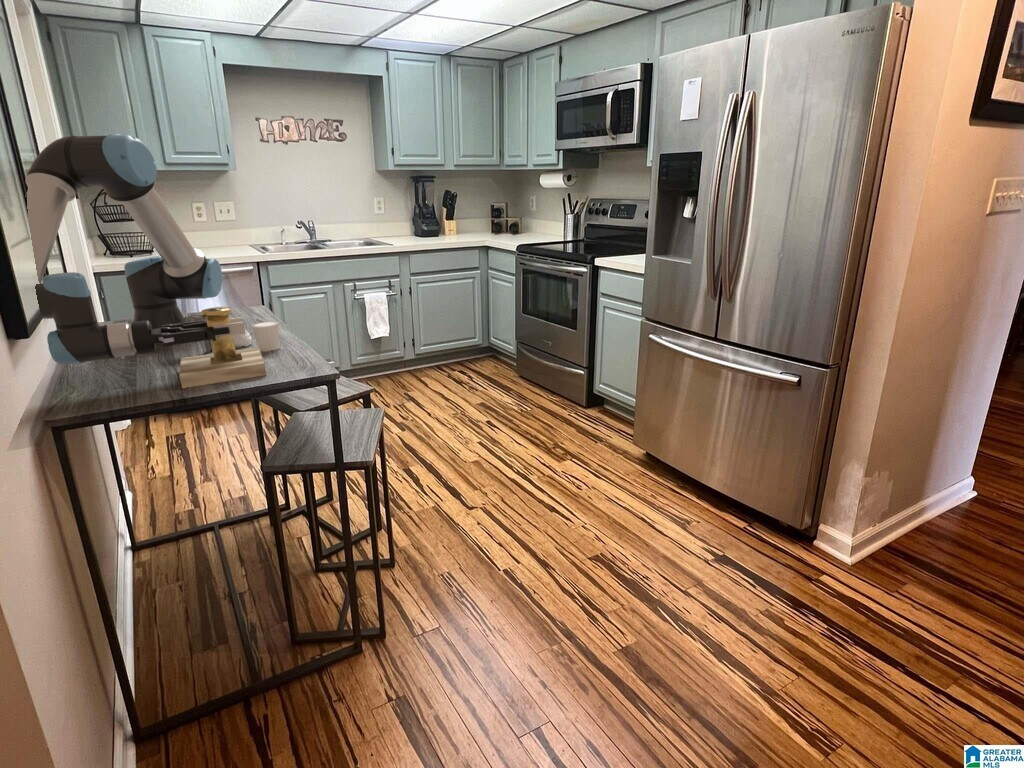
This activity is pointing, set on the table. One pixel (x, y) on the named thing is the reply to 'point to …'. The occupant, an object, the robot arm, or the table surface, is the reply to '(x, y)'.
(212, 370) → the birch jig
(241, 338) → the garlic bulb
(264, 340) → the white cup
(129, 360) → the table surface
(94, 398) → the table surface
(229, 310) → the brass sleeve
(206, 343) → the mechanical component
